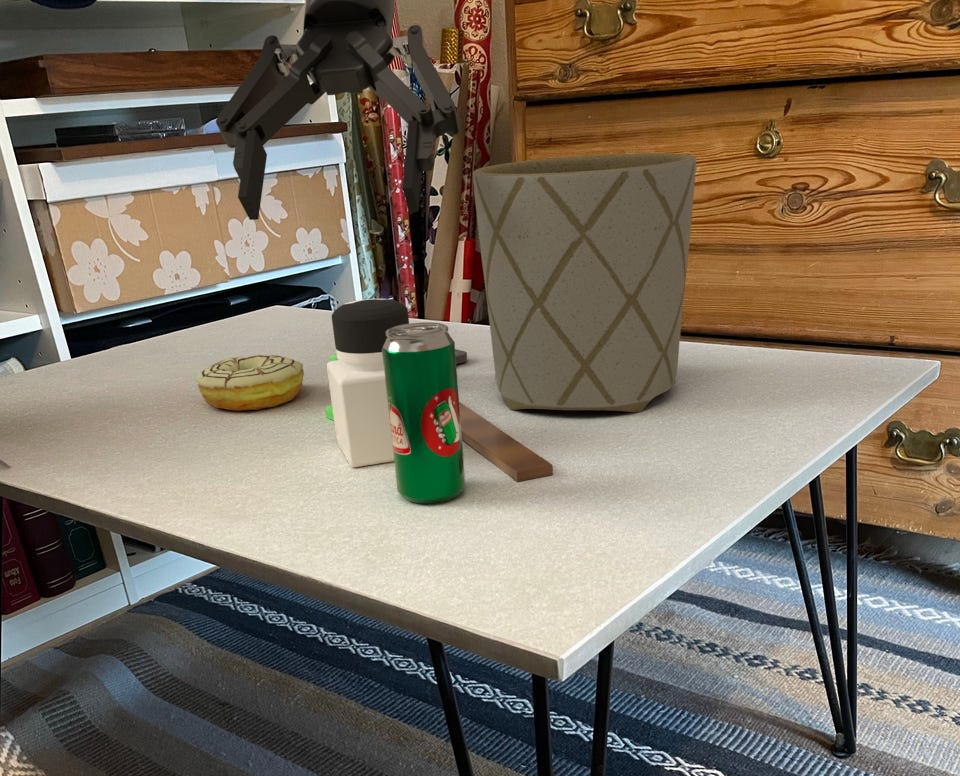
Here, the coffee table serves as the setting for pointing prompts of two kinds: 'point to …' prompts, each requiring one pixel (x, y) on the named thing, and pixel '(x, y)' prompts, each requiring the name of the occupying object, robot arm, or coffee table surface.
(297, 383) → the decorated donut
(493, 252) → the planter
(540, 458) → the wooden plank
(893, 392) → the coffee table surface
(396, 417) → the soda can
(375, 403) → the medicine bottle
